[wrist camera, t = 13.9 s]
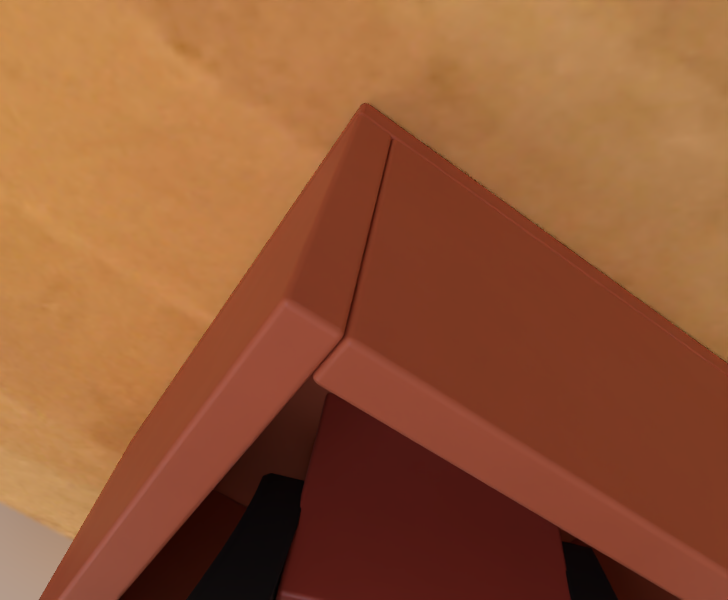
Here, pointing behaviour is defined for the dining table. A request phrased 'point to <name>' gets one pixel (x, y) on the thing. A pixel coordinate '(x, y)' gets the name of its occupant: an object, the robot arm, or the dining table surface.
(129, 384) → the dining table surface
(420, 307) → the red bin
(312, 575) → the red block
